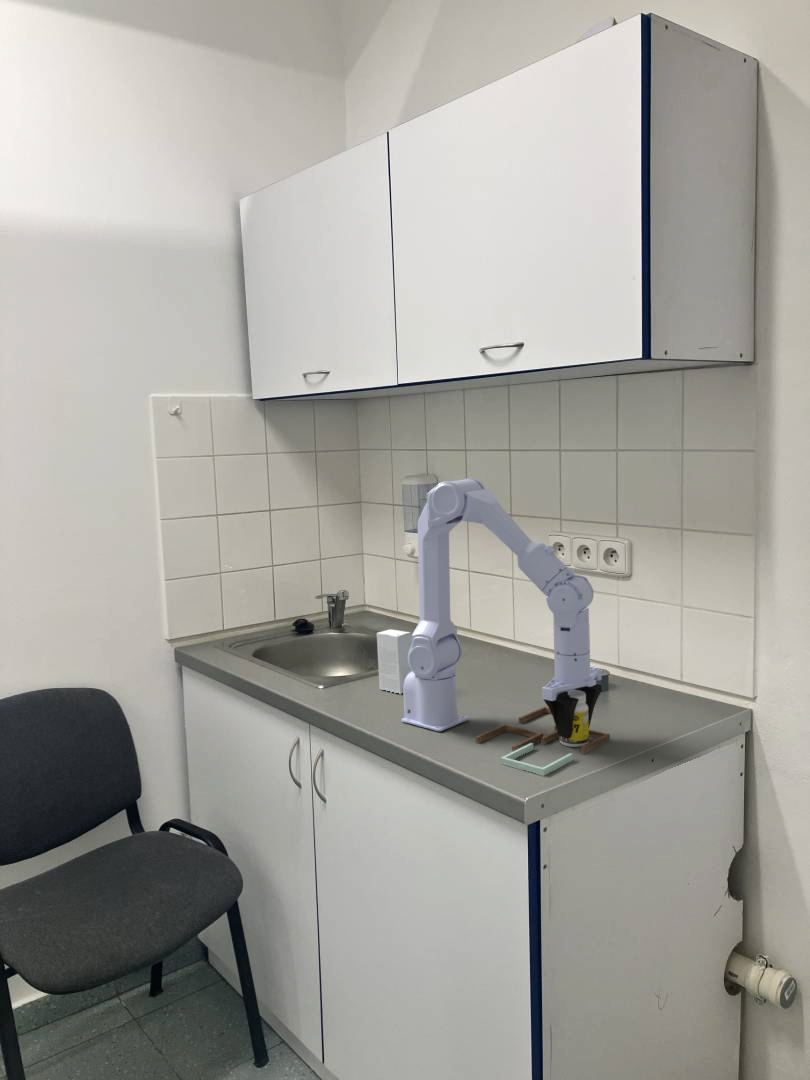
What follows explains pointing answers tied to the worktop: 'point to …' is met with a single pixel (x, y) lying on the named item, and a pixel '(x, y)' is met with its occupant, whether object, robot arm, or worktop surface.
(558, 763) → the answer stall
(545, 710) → the stall left
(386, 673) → the skincare box
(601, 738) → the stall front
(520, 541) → the robot arm
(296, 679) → the worktop surface
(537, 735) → the frame
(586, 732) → the supplement bottle
